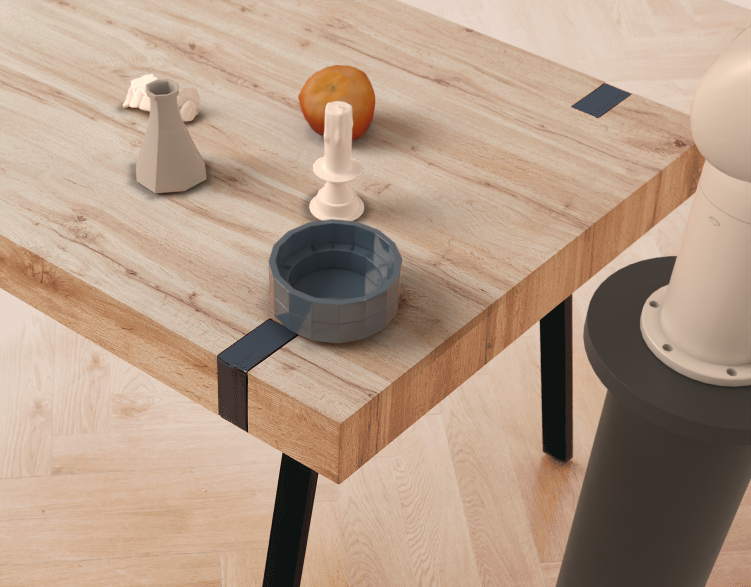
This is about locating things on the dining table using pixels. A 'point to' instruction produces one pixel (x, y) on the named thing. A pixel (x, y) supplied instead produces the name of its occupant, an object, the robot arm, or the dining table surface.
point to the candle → (337, 168)
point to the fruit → (338, 97)
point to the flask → (167, 144)
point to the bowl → (335, 280)
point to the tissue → (139, 98)
